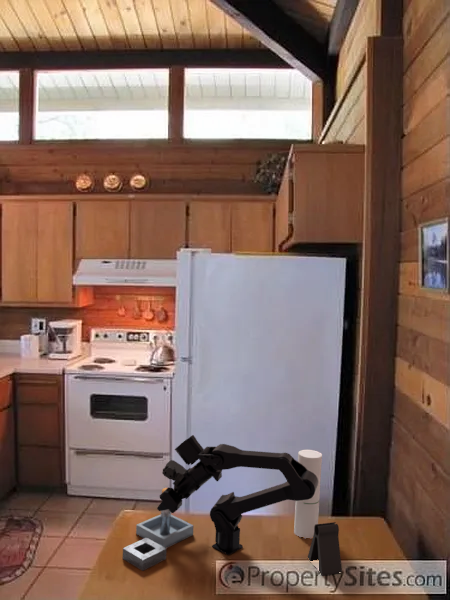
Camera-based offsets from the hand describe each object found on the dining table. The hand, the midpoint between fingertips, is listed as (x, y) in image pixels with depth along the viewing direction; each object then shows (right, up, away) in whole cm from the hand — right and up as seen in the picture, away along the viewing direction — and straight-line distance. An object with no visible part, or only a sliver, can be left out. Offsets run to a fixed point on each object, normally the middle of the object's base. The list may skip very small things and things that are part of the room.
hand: (161, 506), depth 168 cm
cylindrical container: (+44, -10, +5) cm, 45 cm away
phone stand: (+46, -12, -13) cm, 50 cm away
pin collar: (-3, -10, -13) cm, 17 cm away
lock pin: (+1, -8, 0) cm, 8 cm away
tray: (+1, -9, 0) cm, 9 cm away
